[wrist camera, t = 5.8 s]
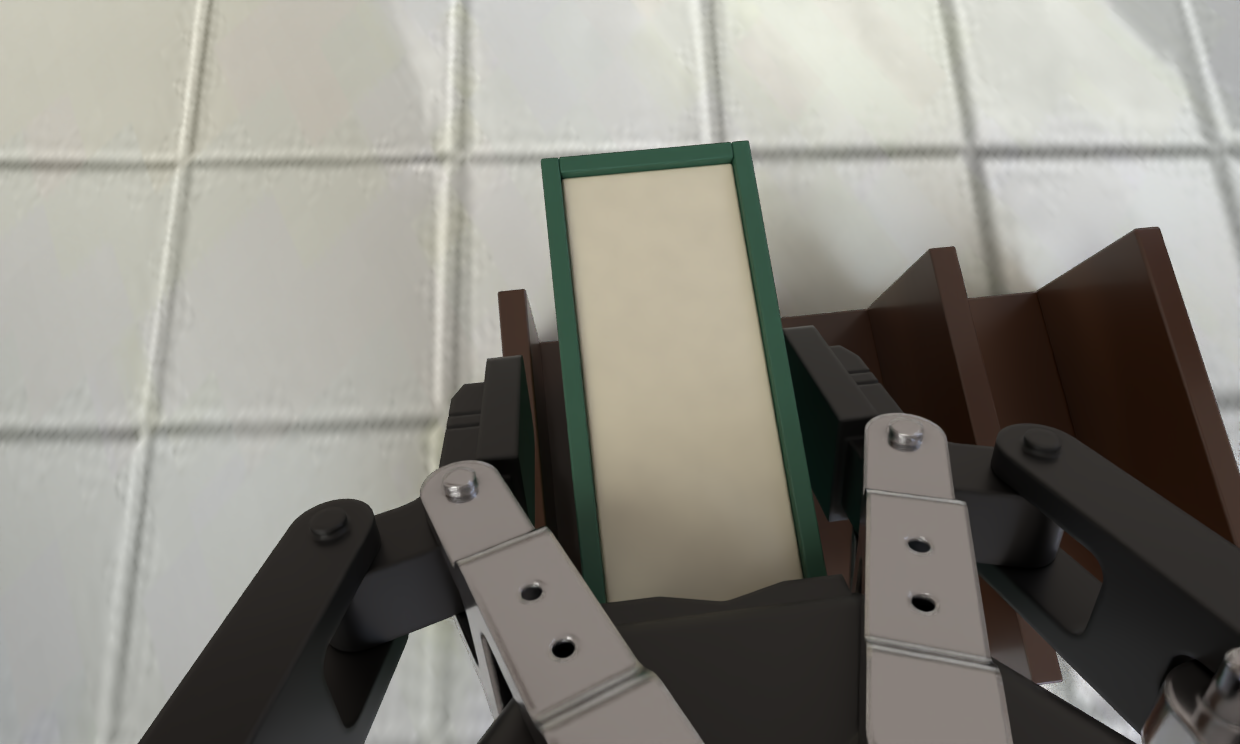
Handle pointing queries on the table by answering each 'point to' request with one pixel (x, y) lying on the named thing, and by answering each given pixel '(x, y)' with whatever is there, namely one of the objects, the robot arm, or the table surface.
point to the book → (676, 377)
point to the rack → (991, 392)
